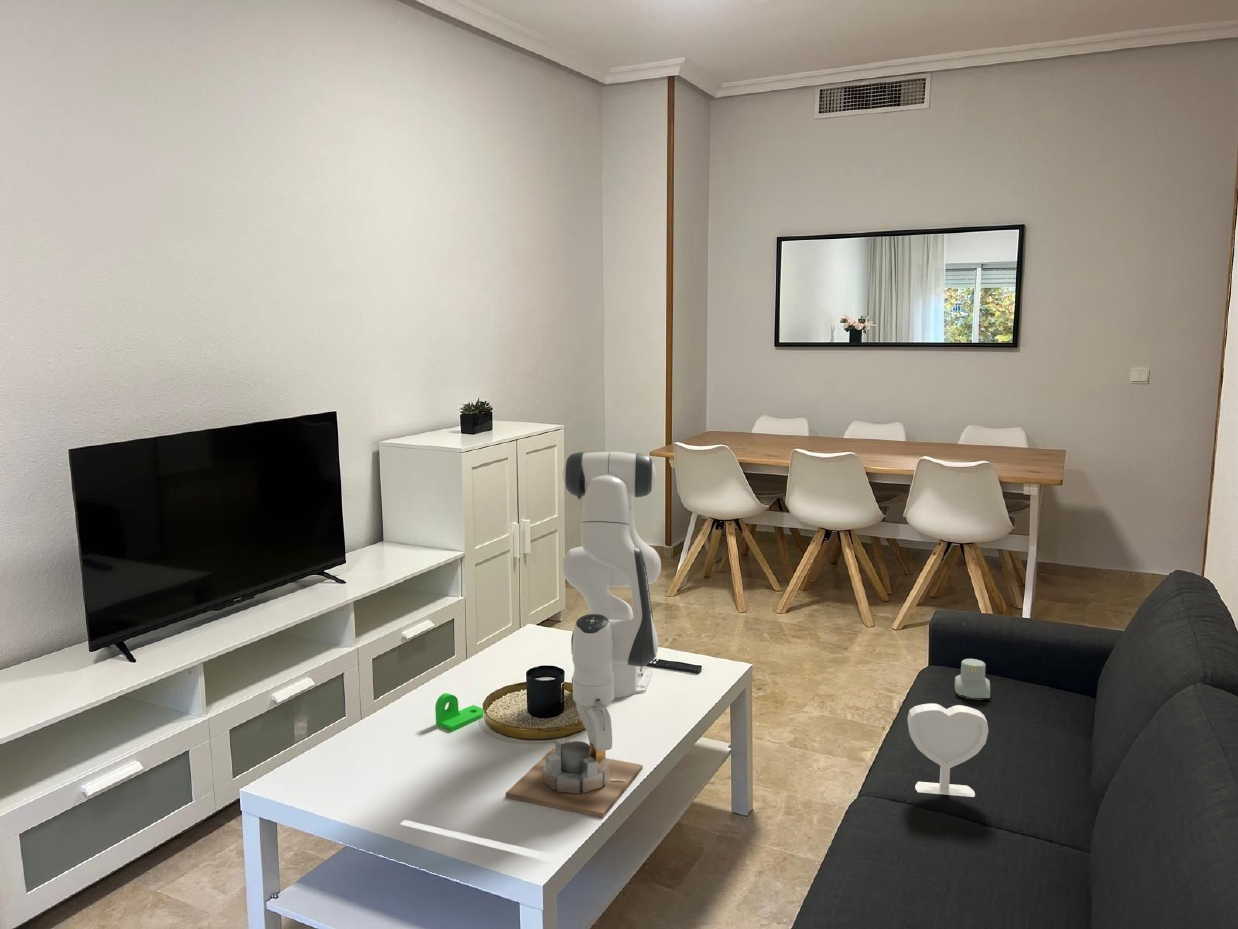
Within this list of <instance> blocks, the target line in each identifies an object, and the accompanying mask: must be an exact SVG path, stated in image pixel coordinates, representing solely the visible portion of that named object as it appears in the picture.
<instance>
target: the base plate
mask: <svg viewBox="0 0 1238 929" xmlns="http://www.w3.org/2000/svg"><path fill="white" fill-rule="evenodd" d="M555 753H556V752H555V748H551V750H549V752H547V754H545V755H544V756H543V757H542V758H541V759H540V760H539V761H538V762H537V763H536V764H534V765H533V766H532V768H531V769H529V770H528V771H527V772H526V773H524V775H523V776H522V777H520V779H518V781H516V783H515V784H513V786H511V787H510V788H509V789H508V790H507V791H506V792H505V798H508V799H512V800H517V801H521V802H526V803H531V804H536V805H540V806H541V805H542V806H545V807H551V808H554V809H561V810H564V811H570V812H575V813H579V814H584V815H589V816H593V817H598V818H602V819H604V817H605V816H606V815H607V814H608V813H609V812H610V811H611V809H612V808H613V807H614V806H615V804H616V803H617V802H618V800H620V798H621V797H622V796H623V794H624V793H625V792H626V791H627V790H628V788H629V786H630V785H631V784H632V783H634V782H633V781H635V779H636V778H637V777H638V776H639V775H640V773H641V772H642V770H643V768H644V766H643V764H639V763H634V762H630V761H624V760H623V761H622V760H617V759H611V758H607V757H606V758H607V759H608V760H609V777H608V779H607V781H606V784H605V785H603V787H601V788H598V789H595V790H592V791H589V792H586V793H582V792H580V794H578V793H568V792H557V790H553V789H552V788H551V787H549V786H548V785H547V784H546V783H545V782H543V770H542V766H543V765H544V763H545V761H546V756H549V755H552V754H555ZM589 757H590V746H589V743H587V742H585V741H579V740H575V741H570V742H568V743H566V744H564V745H563V746H562V772H563V773H574V774H581V773H582V760H583V759H586V758H589Z"/></svg>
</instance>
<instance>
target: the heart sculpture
mask: <svg viewBox="0 0 1238 929" xmlns="http://www.w3.org/2000/svg"><path fill="white" fill-rule="evenodd" d="M906 721H907V725H908V733H909V736H910V738H911V740H912V742H913V744H914V745H915V748H917V750H918V751H920V753H922V754H923V755H924V756H925V757H926V758H928V759H929V760H930V761H932V762H934V763H936V765H938V766H939V783H938V782H928V781H927V782H926V781H917V782H916V784H915V786H914V787H915V790H916V791H917V793H922V794H923V793H925V794H936V795H945V796H946V795H947V796H955V797H957V796H959V797H968V798H969V797H971V798H975V796H976V793H975V791H974V789H972V787H970V786H968V785H963V784H951V783H950V776H951V768H954V767H955V766H959V765H960V764H962V763H965V762H968V760H970V759H972V758H973V757H974V756H976V755H977V754H978V753H979V752H980V751H981V750H982V749H983V747H984V746H985V745H986V743H987V739H988V735H989V726H988V724H989V723H988V721H987V719H986V716H985V714H983V713H982V712H981V711H980V710H978V709H976V708H972V707H970V706H966V705H960V704H956V705H952V706H951V707H948V708H945V707H943V706H942V705H940V704H938V703H923V704H918V705H915V706H912V707H911V708H910V709H909V710H908V715H907V720H906Z"/></svg>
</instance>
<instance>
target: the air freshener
mask: <svg viewBox="0 0 1238 929" xmlns="http://www.w3.org/2000/svg"><path fill="white" fill-rule="evenodd" d="M960 665H961V666H960V674H958V675H956V676H955V677H954V692H955V691H956V693H958V694H959V695H964V696H967V697H970V698H991V683H990V682H991V681H990V679H988V678H987V677H986V663H985V662H984V661H982V660H979V659H977V658H976V659H975V658H965V659H963V660H962V661H961V664H960Z"/></svg>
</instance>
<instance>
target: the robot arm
mask: <svg viewBox="0 0 1238 929" xmlns="http://www.w3.org/2000/svg"><path fill="white" fill-rule="evenodd" d="M653 461H654V460H653V459H652V457H651V456H649V455H647V454H644V453H640V452H637V453H630V452H626V451H625V452H623V451H614V450H613V451H597V452H596V451H595V452H586V453H585V452H584V451H581V452H575V453H571V454H570V455H569V456H568V457H567V458H566V462H565V464H564V466H563V470H562V478H563V482H564V485H565V489H566V491H568V492H569V493H570V494H571V495H573V496H574V497H575V496H576V497H577V499H578V500H581V499H582V498H583V501H582V503H583V504H582V507H581V517H580V542H581V543H580V544H581V546H577V547H572V548H570V549H569V550H568V551H567V552H566V554H565V555H564V557H563V560H562V563H561V564H562V566H561V569H562V575H563V576H564V579H565V580H566V582H567V583H568V584H569V585H571V586H572V587H574V588H575V589H576V590H577V591H578V592H579V593H580V594H581V595H582V596H583V598H584V600H585V602H586V603H587V606H588V609H589V614H585V615H582V616H581V617H579V618H578V619H577V620H576V621H575V624H574V627H573V630H572V633H571V634H572V635H571V638H570V639H571V643H570V645H571V649H570V650H571V655H572V656H571V657H572V663H573V666H574V668H573V669H574V670H573V674H572V676H571V686H572V699H573V701H574V703H575V706H576V712H577V714H578V716H579V719H580V721H581V722H582V724H583V727H584V730H585V731H586V733H587V736H588V744H589V746H590V743H591V744H593V746H594V748H595V750H596V751H604V750H605V751H610V750H611V749H612V748H613V728H612V720H611V718H612V717H611V714H610V712H609V710H608V707H609V704H610V703H612V702H613V701H614V699H615V698H616V699H617V698H625V697H628V696H632V695H637V694H644V693H647V689H648V687H649V684H650V682H651V680H652V677H653V674H654V670H652V669H650V668H648V667H646V666H647V665H649V664H650V663H651V662H652V661H653V660H655V658H657V653H658V650H659V639H658V633H657V629H656V627H655V626H656V625H655V623H654V616H653V610H652V608H653V607H652V601H651V595H650V586H649V585H650V584H654V583H655V582H656V581H657V579H658V578H659V576H660V573H661V570H662V562H661V561H662V560H661V557H660V555H659V553H658V551H656V549H655V548H654V547H652V546H650V545H649V544H647V543H646V542H645V541H644V540H643V539H642V538H641V537H640V535H639V534H638V531H637V529H636V525H635V516H634V515H635V513H634V512H635V511H634V507H635V506H634V504H635V503H634V498H642V497H647V496H648V495H649V494H650V493H652V491H653V488H654V486H655V483H656V481H657V471H656V470H657V469H656V466H655V464H654V462H653ZM611 588H630V596H631V603H632V607H631V605H630V604H629V603H628V602H626V601H625V600H623V599H622V598H619V597H618V596H615V595H613V594H612V593H611V592H610V589H611Z"/></svg>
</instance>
